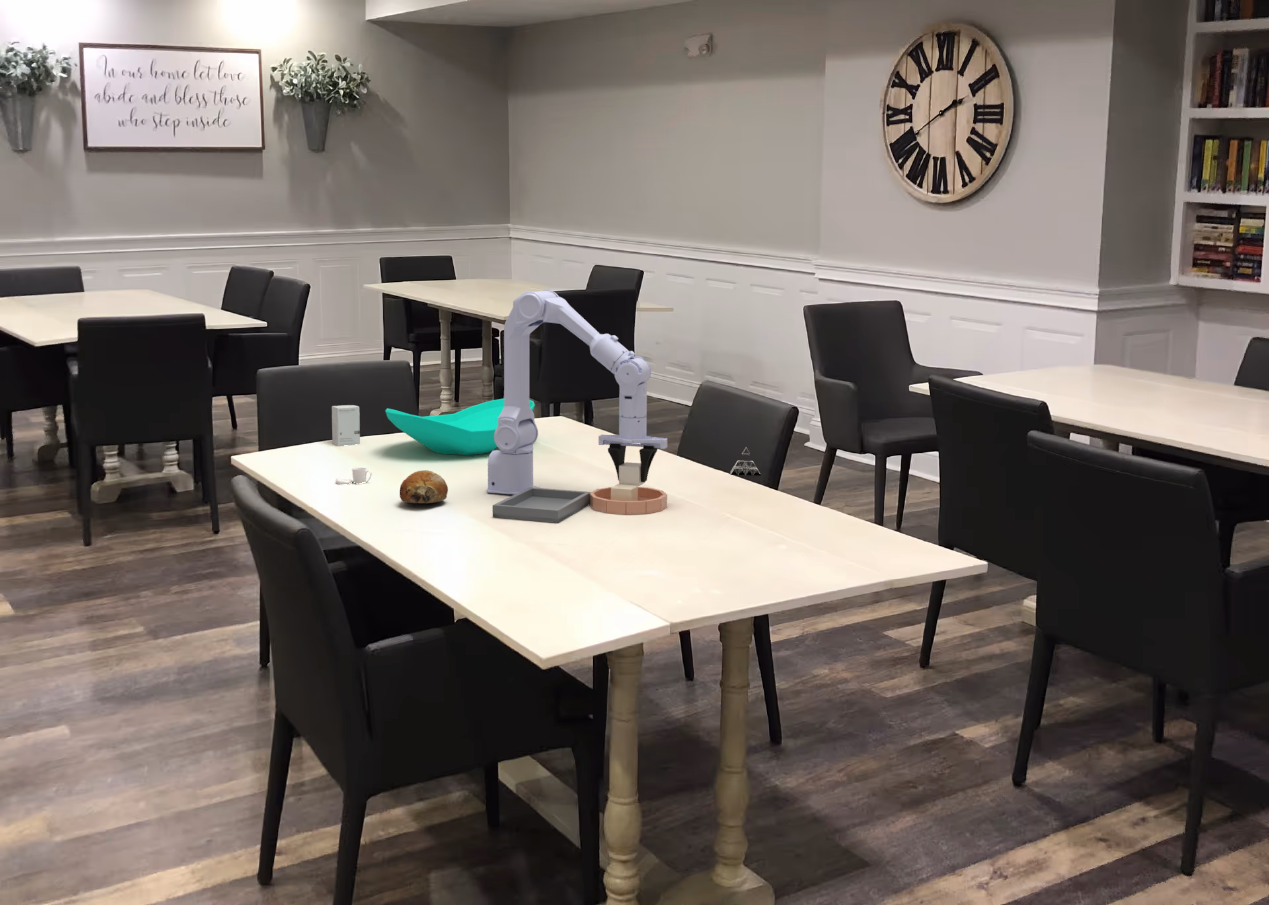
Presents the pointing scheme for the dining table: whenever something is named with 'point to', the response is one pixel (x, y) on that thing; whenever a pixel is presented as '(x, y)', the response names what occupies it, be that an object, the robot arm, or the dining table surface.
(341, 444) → the skincare box
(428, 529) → the dining table surface
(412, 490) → the bread roll
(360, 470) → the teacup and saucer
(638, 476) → the greyish beige cube
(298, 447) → the dining table surface
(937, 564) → the dining table surface
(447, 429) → the table top decor
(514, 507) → the parts tray
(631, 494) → the cream matte cube
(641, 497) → the bowl
